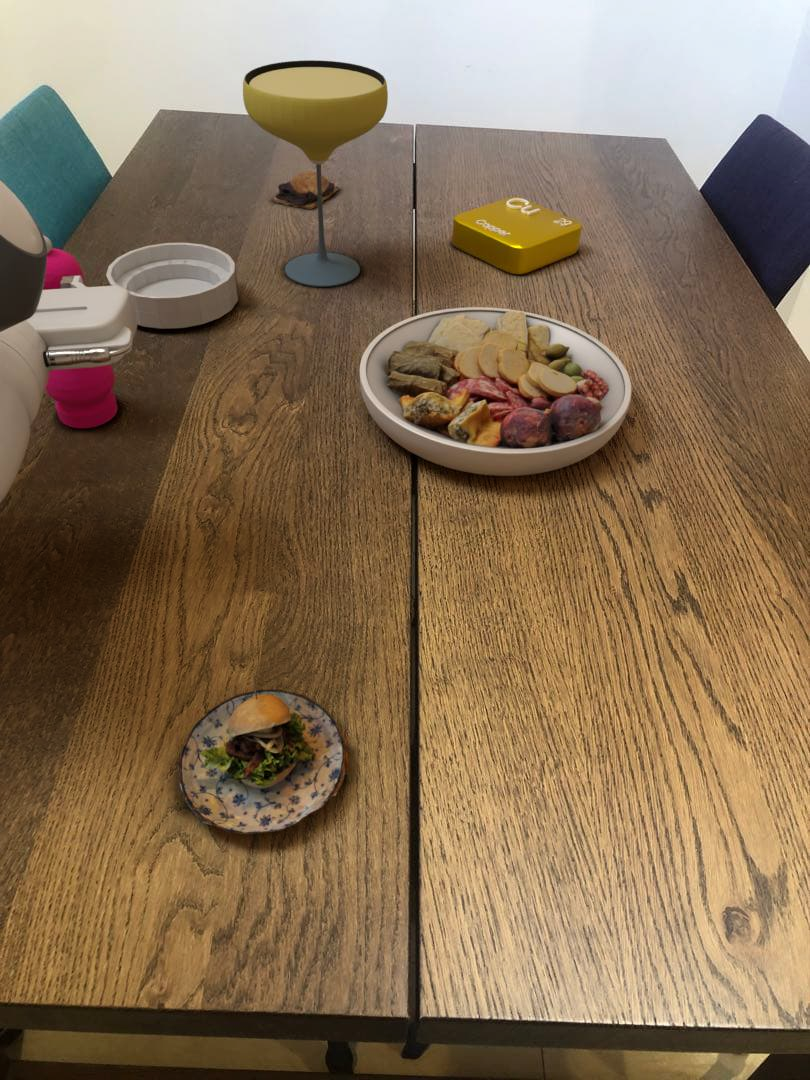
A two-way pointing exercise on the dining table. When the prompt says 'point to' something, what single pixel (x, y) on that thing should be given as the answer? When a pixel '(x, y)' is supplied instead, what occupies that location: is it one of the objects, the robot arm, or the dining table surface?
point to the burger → (262, 762)
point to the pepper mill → (81, 389)
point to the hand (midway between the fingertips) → (16, 287)
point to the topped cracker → (304, 190)
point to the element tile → (516, 235)
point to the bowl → (494, 390)
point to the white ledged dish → (176, 283)
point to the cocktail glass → (316, 132)
